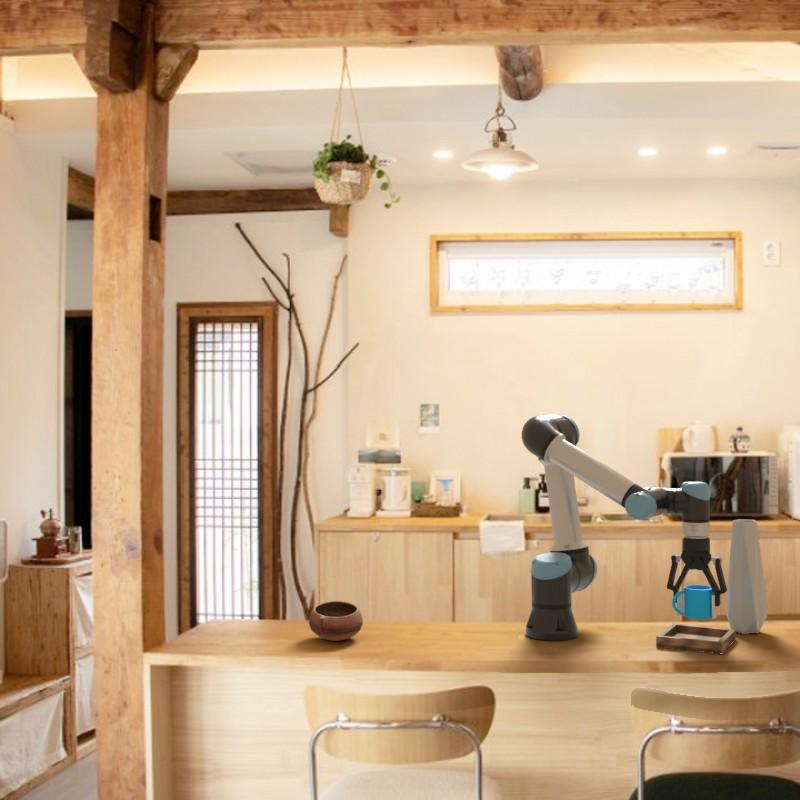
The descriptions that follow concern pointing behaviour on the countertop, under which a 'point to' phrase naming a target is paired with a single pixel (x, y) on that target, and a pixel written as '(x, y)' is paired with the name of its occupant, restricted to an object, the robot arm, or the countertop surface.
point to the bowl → (335, 620)
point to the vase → (745, 580)
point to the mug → (696, 602)
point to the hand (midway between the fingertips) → (696, 615)
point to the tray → (696, 638)
